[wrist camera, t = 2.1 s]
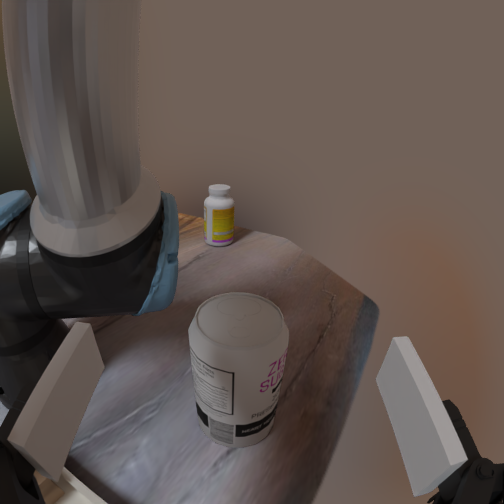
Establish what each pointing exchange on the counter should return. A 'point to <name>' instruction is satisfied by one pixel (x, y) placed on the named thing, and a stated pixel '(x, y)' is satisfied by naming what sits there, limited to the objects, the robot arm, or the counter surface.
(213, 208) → the supplement bottle
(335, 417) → the counter surface
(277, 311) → the supplement can
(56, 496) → the walnut block
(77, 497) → the tray
